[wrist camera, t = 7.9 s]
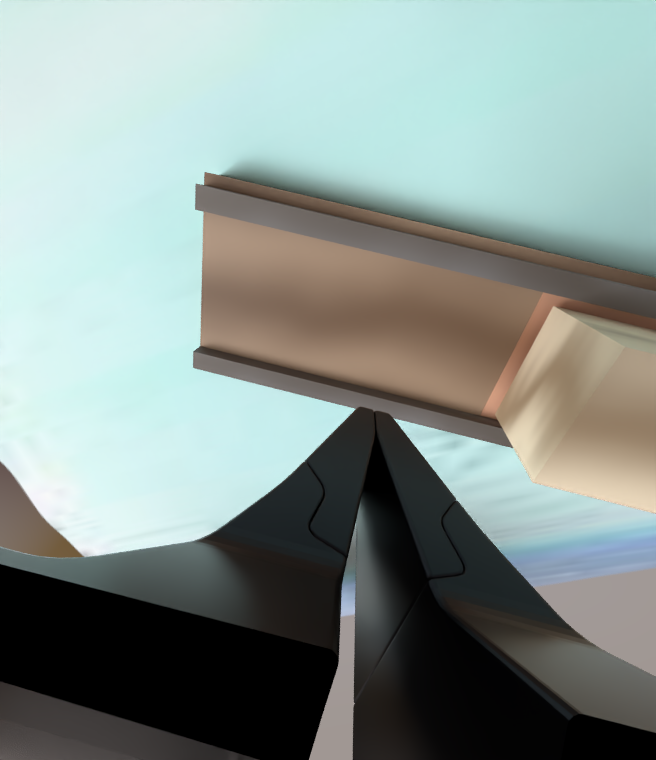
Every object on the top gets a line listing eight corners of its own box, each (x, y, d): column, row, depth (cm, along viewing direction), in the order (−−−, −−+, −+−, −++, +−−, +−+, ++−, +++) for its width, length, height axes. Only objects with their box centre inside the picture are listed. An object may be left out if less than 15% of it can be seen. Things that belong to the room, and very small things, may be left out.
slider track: (692, 478, 20) (769, 546, 16) (211, 358, 21) (171, 394, 17) (847, 322, 15) (1010, 362, 11) (219, 175, 16) (166, 164, 12)
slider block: (607, 442, 18) (681, 520, 13) (494, 414, 18) (532, 482, 13) (687, 337, 15) (816, 393, 10) (553, 305, 15) (625, 347, 11)
